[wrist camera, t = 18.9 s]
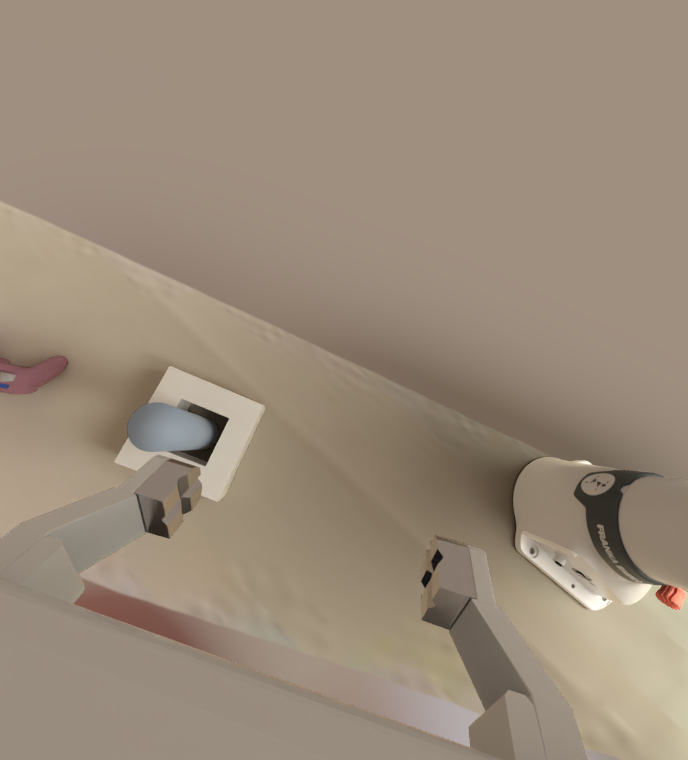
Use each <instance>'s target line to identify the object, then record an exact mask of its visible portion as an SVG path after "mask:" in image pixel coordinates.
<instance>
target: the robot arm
mask: <svg viewBox="0 0 688 760" xmlns="http://www.w3.org/2000/svg"><path fill="white" fill-rule="evenodd" d="M200 475H201V472H200V467H197V466H194V465H191V464H188V463H185V462H181V461H178V460H175V459H172V458H169V457H166V456H162V455H159V454H158V455H156V456H154V457H152V458H151V459H150V460H149V461H148V462H147V463H145V464H144V465H143V466H142V467H141V468H140V469H139V470H138V471H137V472H135V473H134V474H133V475H132V476H131V477H130V478H129V479H128V480H127V481H125V482H124V483H123V484H122V485H121V486H120V487H119V488H118V489H117V488H111V489H108V490H106V491H103V492H101V493H98V494H95V495H93V496H90V497H88V498H85V499H82V500H80V501H77V502H75V503H72V504H70V505H67V506H64V507H62V508H59V509H57V510H54V511H51V512H49V513H46V514H44V515H41V516H38V517H36V518H33V519H31V520H28V521H26V522H23V523H20V524H19V525H18V526H17V527H15V528H14V529H13V530H11V531H10V532H9V533H7V534H6V535H5V536H4V537H2V538H1V539H0V760H588V759H587V756H586V753H585V749H584V746H583V743H582V740H581V736H580V733H579V730H578V727H577V723H576V720H575V717H574V714H573V710H572V709H571V707H570V706H569V704H568V703H567V701H566V700H565V699H564V697H563V696H562V694H561V693H560V691H559V690H558V688H557V687H556V686H555V684H554V683H553V681H552V680H551V678H550V677H549V675H548V674H547V673H546V671H545V670H544V668H543V667H542V665H541V664H540V662H539V661H538V660H537V658H536V657H535V655H534V654H533V652H532V651H531V650H530V648H529V647H528V645H527V644H526V642H525V641H524V639H523V638H522V637H521V635H520V634H519V632H518V631H517V629H516V628H515V626H514V625H513V624H512V622H511V621H510V619H509V618H508V616H507V615H506V613H505V612H504V611H503V609H502V608H501V607H498V606H496V602H495V597H494V592H493V587H492V582H491V577H490V572H489V567H488V562H487V557H486V553H485V551H484V550H483V549H481V548H477V547H474V546H470V545H466V544H465V543H461V542H457V541H454V540H450V539H447V538H443V537H439V536H436V535H435V536H434V537H433V538H432V540H431V542H430V544H431V549H428V550H426V552H425V555H424V557H423V562H422V568H421V582H422V584H423V586H424V588H425V590H424V592H423V594H422V595H421V620H423V621H425V622H428V623H431V624H434V625H437V626H440V627H442V628H445V629H448V630H450V631H449V632H450V635H451V637H452V639H453V641H454V643H455V645H456V648H457V650H458V652H459V654H460V656H461V659H462V661H463V663H464V665H465V667H466V669H467V672H468V674H469V676H470V678H471V680H472V683H473V685H474V687H475V689H476V691H477V693H478V696H479V698H480V700H481V702H482V704H483V707H484V709H485V712H484V713H483V714H482V715H481V716H480V717H478V718H477V719H476V720H475V721H474V722H473V723H472V724H471V725H470V726H469V738H470V747H467V746H464V745H462V744H459V743H456V742H453V741H450V740H448V739H445V738H442V737H439V736H436V735H434V734H431V733H428V732H426V731H423V730H420V729H417V728H415V727H412V726H409V725H406V724H403V723H401V722H398V721H395V720H392V719H390V718H387V717H384V716H381V715H379V714H376V713H373V712H370V711H368V710H365V709H362V708H359V707H356V706H354V705H351V704H348V703H345V702H343V701H340V700H337V699H334V698H331V697H329V696H326V695H323V694H321V693H318V692H315V691H312V690H309V689H307V688H304V687H301V686H298V685H296V684H293V683H290V682H287V681H284V680H282V679H279V678H276V677H274V676H271V675H268V674H265V673H262V672H260V671H257V670H254V669H251V668H249V667H246V666H243V665H240V664H237V663H235V662H232V661H229V660H226V659H224V658H221V657H218V656H215V655H213V654H210V653H207V652H204V651H202V650H199V649H196V648H193V647H191V646H188V645H185V644H182V643H179V642H177V641H174V640H171V639H168V638H166V637H163V636H160V635H157V634H154V633H152V632H149V631H146V630H143V629H141V628H138V627H135V626H132V625H129V624H127V623H124V622H121V621H119V620H116V619H113V618H110V617H107V616H105V615H102V614H99V613H96V612H93V611H91V610H88V609H85V608H83V607H80V606H77V605H74V604H73V603H74V602H75V601H76V600H77V599H78V598H79V597H80V595H81V594H82V593H83V592H84V588H85V585H84V583H83V581H82V579H81V577H80V575H79V573H81V572H83V571H84V570H86V569H88V568H89V567H91V566H93V565H94V564H96V563H98V562H99V561H101V560H102V559H104V558H106V557H107V556H109V555H111V554H112V553H114V552H116V551H117V550H119V549H121V548H122V547H124V546H126V545H127V544H129V543H131V542H132V541H134V540H136V539H137V538H139V537H141V536H142V535H144V534H145V533H146V532H148V533H151V534H155V535H158V536H162V537H165V538H169V539H170V538H171V536H172V535H173V534H174V533H175V531H176V530H177V529H178V527H179V526H180V525H181V524H182V522H183V514H185V513H187V512H189V511H191V510H192V509H193V508H194V507H195V505H196V504H197V502H198V500H199V498H200V496H201V492H202V483H201V482H200V480H199V479H198V477H199V476H200ZM513 507H514V514H515V519H516V525H517V528H516V535H515V547H516V549H517V551H518V552H519V553H520V554H521V555H523V556H524V557H525V558H526V559H527V560H529V561H530V562H531V563H532V564H534V565H535V566H536V567H537V568H538V569H540V570H541V571H542V572H543V573H544V574H546V575H547V576H548V577H549V578H550V579H552V580H553V581H554V582H555V583H557V584H558V585H559V586H560V587H561V588H563V589H564V590H565V591H566V592H567V593H569V594H570V595H571V596H572V597H573V598H575V599H576V600H577V601H578V602H580V603H581V604H582V605H583V606H584V607H586V608H588V609H590V610H593V611H596V610H599V609H602V608H604V607H606V606H607V605H608V604H610V603H611V602H612V601H613V602H615V603H618V604H621V605H630V604H633V603H635V602H637V601H639V600H640V599H641V598H642V597H643V596H644V595H645V594H646V593H647V592H648V590H649V589H650V588H651V586H652V585H662V587H661V588H660V589H659V590H658V591H657V592H656V594H655V595H656V597H657V598H658V599H659V600H660V601H661V602H663V603H664V604H666V605H667V606H669V607H671V608H673V609H676V610H678V609H679V610H680V608H681V605H682V601H683V599H685V598H686V594H685V593H684V592H683V591H682V590H684V591H687V592H688V479H683V478H682V479H681V478H667V477H663V476H661V475H658V474H655V473H649V472H645V471H638V470H636V471H629V470H618V469H613V468H607V467H601V466H594V465H592V464H591V463H590V462H588V461H584V460H575V461H566V460H562V459H559V458H555V457H543V458H539V459H536V460H534V461H532V462H531V463H529V464H528V465H527V466H526V467H525V468H524V469H523V471H522V472H521V474H520V475H519V477H518V479H517V482H516V485H515V489H514V495H513ZM530 549H531V552H530Z"/></svg>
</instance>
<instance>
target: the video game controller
mask: <svg viewBox="0 0 688 760" xmlns="http://www.w3.org/2000/svg"><path fill="white" fill-rule="evenodd" d="M66 365H67V359H66V357H64V356H55V357H51V358H49V359H47V360H45V361H44V362H42V363H40V364H38V365H35V366H33V367H30V368H28V367H18V366H14V365H11V364H9V361H8V360H6V359H3V358H0V392H4V393H9V394H28V393H32V392H35V391H36V390H37V388H38V387H40V386H42V385H44V384H46V383H47V382H49V381H50V380H52V379H54V378H55V377H56V376H58V375H59V374H60V373H61V372H62V371H63V370H64V368H65V367H66Z"/></svg>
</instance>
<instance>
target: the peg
mask: <svg viewBox="0 0 688 760" xmlns="http://www.w3.org/2000/svg"><path fill="white" fill-rule="evenodd" d="M127 434H128V437H129V440H130V441H131V443H132V444H133V445H134V446H135V447H136V448H138V449H140V450H142V451H146V452H163V451H182V450H200V449H207V448H209V447H211V446H212V445H213V444H214V443H215V442H216V440H217V438H218V435H219V431H218V427H217V425H216V424H215V423H214V422H213V421H212V420H210V419H207V418H204V417H201V416H199V415H196V414H193V413H190V412H188V411H185V410H182V409H179V408H177V407H174V406H171V405H168V404H165V403H161V402H153V403H149V404H146V405H143V406H142V407H140V408H139V409H137V410H136V411H135V412H134V413H133V414H132V416H131V417H130V419H129V422H128V426H127Z"/></svg>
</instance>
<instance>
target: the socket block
mask: <svg viewBox="0 0 688 760" xmlns="http://www.w3.org/2000/svg"><path fill="white" fill-rule="evenodd" d="M153 402H161V403H165V404H168V405H171V406H174V407H177V408H179V409H182V410H185V411H188V409H189V407H190V405H191V404H194V405H197V406H199V407H202V408H204V409H207V410H209V411H211V412H214V413H216V414H219V415H221V416H224V417H226V418H229V420H228V422H227V424H226V426H225V428H224V430H223V432H222V434H221V436H220V438H219V440H218V442H217V444H216V446H215V448H214V450H213V452H212V455H211V457H210V459H209V461H208V462H206V461H204V460H201V459H199V458H196V457H194V456H191V455H188V454H186V453H183V452H181V451H163V452H146V451H142V450H140V449H138V448H136V447H135V446H134V445H133V444H132V443H131V441H130V440H129V437H128V439H127V440H126V442H125V444H124V445H123V447H122V449H121V451H120V452H119V454H118V456H117V458H116V459H115V461H114V463H117V464H119V465H122V466H125V467H127V468H130V469H132V470H135V471H138V470H139V469H140V468H141V467H142V466H143V465H144V464H145V463H147V462H148V461H149V460H150V459H151V458H152V457H154V456H156V455H158V454H159V455H162V456H166V457H169V458H172V459H175V460H178V461H181V462H185V463H188V464H191V465H194V466H197V467H200V472H201V475H200V476H199V477H198V479H199V480H200V482H201V483H202V492H201V496H203V497H206V498H209V499H211V500H214V501H217V502H219V501H220V500H221V499H222V498H223V497H224V496H225V494H226V492H227V490H228V488H229V486H230V484H231V481H232V479H233V477H234V475H235V473H236V471H237V469H238V467H239V464H240V462H241V460H242V458H243V456H244V454H245V452H246V450H247V447H248V445H249V443H250V441H251V439H252V437H253V435H254V432H255V430H256V428H257V426H258V424H259V422H260V420H261V418H262V415H263V413H264V411H265V407H264V405H262V404H260V403H257V402H255V401H253V400H250V399H248V398H245V397H243V396H241V395H238V394H236V393H234V392H231V391H229V390H226V389H224V388H222V387H219V386H217V385H214V384H212V383H210V382H207V381H205V380H203V379H200V378H198V377H195V376H193V375H191V374H188V373H186V372H184V371H181V370H179V369H176V368H174V367H172V366H169V368H168V369H167V371H166V373H165V375H164V376H163V378H162V380H161V382H160V383H159V385H158V387H157V388H156V390H155V392H154V394H153V395H152V397H151V399H150V401H149V402H148V404H149V403H153Z"/></svg>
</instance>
